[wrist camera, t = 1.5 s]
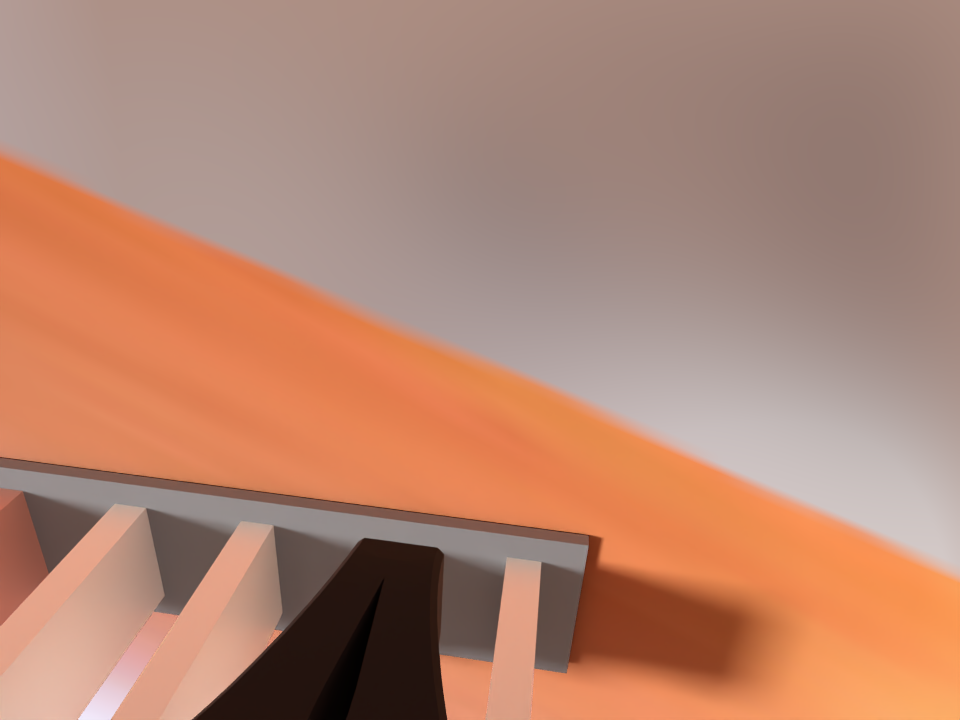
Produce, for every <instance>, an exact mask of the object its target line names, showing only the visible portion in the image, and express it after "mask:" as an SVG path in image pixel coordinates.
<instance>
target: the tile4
mask: <svg viewBox="0 0 960 720" xmlns="http://www.w3.org/2000/svg"><path fill="white" fill-rule="evenodd" d="M164 596H165V594H164V590H163V585H162V580H161V576H160V571H159V566H158V562H157V557H156V552H155V548H154V543H153V538H152V534H151V529H150V524H149V519H148V515H147V510H146V508H143V507H136V506H128V505H121V504H114V505H113V506H112V507H111V508H110V509H109V510H108V512H107V513H106V514H105V515H104V516H103V517H102V518H101V519H100V520H99V521H98V522H97V523H96V524H95V525H94V527H93V528H92V529H91V530H90V531H89V532H88V533H87V534H86V535H85V536H84V537H83V538H82V539H81V540H80V542H79V543H78V544H77V545H76V546H75V547H74V548H73V549H72V550H71V551H70V552H69V553H68V554H67V556H66V557H65V558H64V559H63V560H62V561H61V562H60V563H59V564H58V565H57V566H56V567H55V568H54V569H53V571H52V572H51V573H50V574H49V575H48V576H47V577H46V578H45V579H44V580H43V581H42V582H41V583H40V584H39V586H38V587H37V588H36V589H35V590H34V591H33V592H32V593H31V594H30V595H29V596H28V597H27V598H26V599H25V601H24V602H23V603H22V604H21V605H20V606H19V607H18V608H17V609H16V610H15V611H14V612H13V613H12V615H11V616H10V617H9V618H8V619H7V620H6V621H5V622H4V623H3V624H2V625H1V626H0V720H78V718H79V717H80V716H81V714H82V713H83V711H84V710H85V708H86V707H87V706H88V704H89V703H90V701H91V700H92V698H93V697H94V696H95V694H96V693H97V691H98V690H99V688H100V687H101V686H102V684H103V683H104V681H105V680H106V679H107V677H108V676H109V674H110V673H111V671H112V670H113V669H114V667H115V666H116V664H117V663H118V661H119V660H120V659H121V657H122V656H123V654H124V653H125V651H126V650H127V649H128V647H129V646H130V644H131V643H132V641H133V640H134V639H135V637H136V636H137V634H138V633H139V632H140V630H141V629H142V627H143V626H144V624H145V623H146V622H147V620H148V619H149V617H150V616H151V614H152V613H153V612H154V610H155V609H156V607H157V606H158V604H159V603H160V602H161V600H162V599H163V597H164Z"/></svg>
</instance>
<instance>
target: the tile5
mask: <svg viewBox="0 0 960 720" xmlns="http://www.w3.org/2000/svg"><path fill="white" fill-rule="evenodd" d="M48 575H49V573H48V569H47V566H46V563H45V560H44V557H43V554H42V550H41V547H40V544H39V541H38V538H37V535H36V531H35V528H34V525H33V522H32V519H31V516H30V512H29V509H28V506H27V503H26V500H25V497H24V493H23V491H19V490H11V489H4V488H0V626H1V625H2V624H3V623H4V622H5V621H6V620H7V619H8V618H9V617H10V616H11V615H12V613H13V612H14V611H15V610H16V609H17V608H18V607H19V606H20V605H21V604H22V603H23V602H24V601H25V599H26V598H27V597H28V596H29V595H30V594H31V593H32V592H33V591H34V590H35V589H36V588H37V587H38V586H39V584H40V583H41V582H42V581H43V580H44V579H45V578H46V577H47V576H48Z"/></svg>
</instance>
